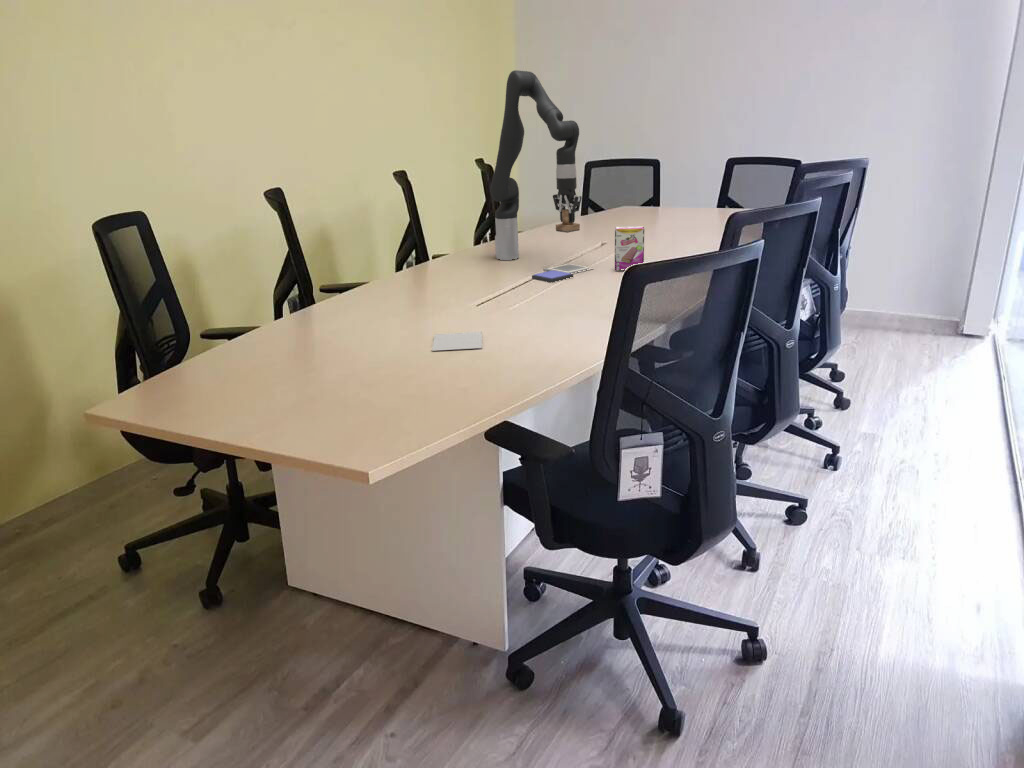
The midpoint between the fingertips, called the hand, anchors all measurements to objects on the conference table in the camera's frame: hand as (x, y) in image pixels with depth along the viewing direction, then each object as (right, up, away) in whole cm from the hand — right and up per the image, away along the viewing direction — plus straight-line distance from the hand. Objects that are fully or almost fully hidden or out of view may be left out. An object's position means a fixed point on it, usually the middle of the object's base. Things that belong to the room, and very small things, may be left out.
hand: (567, 222), depth 319 cm
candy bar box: (+24, -19, +1) cm, 30 cm away
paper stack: (-32, -52, -84) cm, 104 cm away
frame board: (+1, -17, +6) cm, 19 cm away
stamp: (0, -3, +1) cm, 3 cm away
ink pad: (-6, -22, -7) cm, 24 cm away
